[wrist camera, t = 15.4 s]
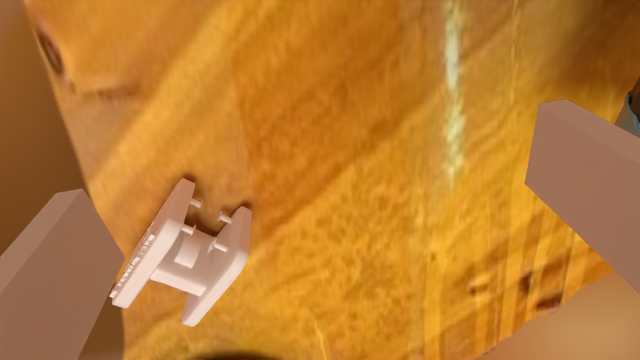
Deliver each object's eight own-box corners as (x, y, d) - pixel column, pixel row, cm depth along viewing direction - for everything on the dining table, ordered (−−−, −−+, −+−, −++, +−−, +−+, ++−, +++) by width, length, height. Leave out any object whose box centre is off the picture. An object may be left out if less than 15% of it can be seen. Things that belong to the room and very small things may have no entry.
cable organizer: (202, 270, 57) (187, 338, 47) (133, 242, 52) (101, 310, 43) (254, 203, 51) (250, 264, 41) (182, 166, 47) (158, 225, 37)
